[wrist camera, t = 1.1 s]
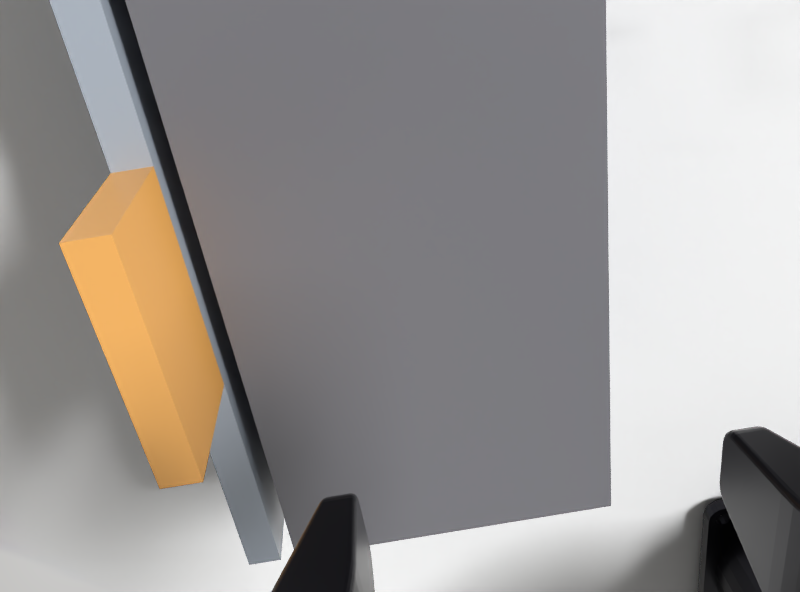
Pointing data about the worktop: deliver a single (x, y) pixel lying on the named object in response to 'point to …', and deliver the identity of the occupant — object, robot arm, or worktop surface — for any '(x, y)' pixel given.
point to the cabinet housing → (403, 244)
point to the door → (159, 286)
